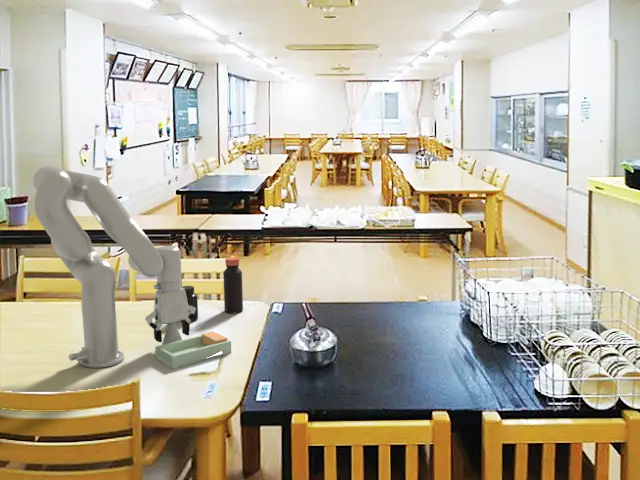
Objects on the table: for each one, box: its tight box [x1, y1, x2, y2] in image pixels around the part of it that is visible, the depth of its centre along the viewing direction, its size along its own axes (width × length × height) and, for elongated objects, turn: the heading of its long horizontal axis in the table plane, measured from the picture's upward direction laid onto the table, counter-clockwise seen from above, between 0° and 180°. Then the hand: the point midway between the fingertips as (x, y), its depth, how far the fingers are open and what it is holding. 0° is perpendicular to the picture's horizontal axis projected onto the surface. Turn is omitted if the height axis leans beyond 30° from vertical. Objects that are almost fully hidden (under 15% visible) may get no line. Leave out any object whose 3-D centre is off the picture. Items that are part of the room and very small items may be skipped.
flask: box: [161, 322, 183, 345], centre depth 217 cm, size 7×7×10 cm
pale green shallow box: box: [155, 334, 232, 369], centre depth 210 cm, size 20×11×4 cm, turn 131°
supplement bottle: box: [180, 285, 199, 323], centre depth 244 cm, size 7×7×12 cm
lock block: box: [201, 330, 228, 346], centre depth 214 cm, size 4×8×3 cm, turn 41°
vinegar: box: [223, 256, 244, 314], centre depth 253 cm, size 7×7×20 cm
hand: (172, 337), depth 217 cm, fingers open, 9 cm apart
